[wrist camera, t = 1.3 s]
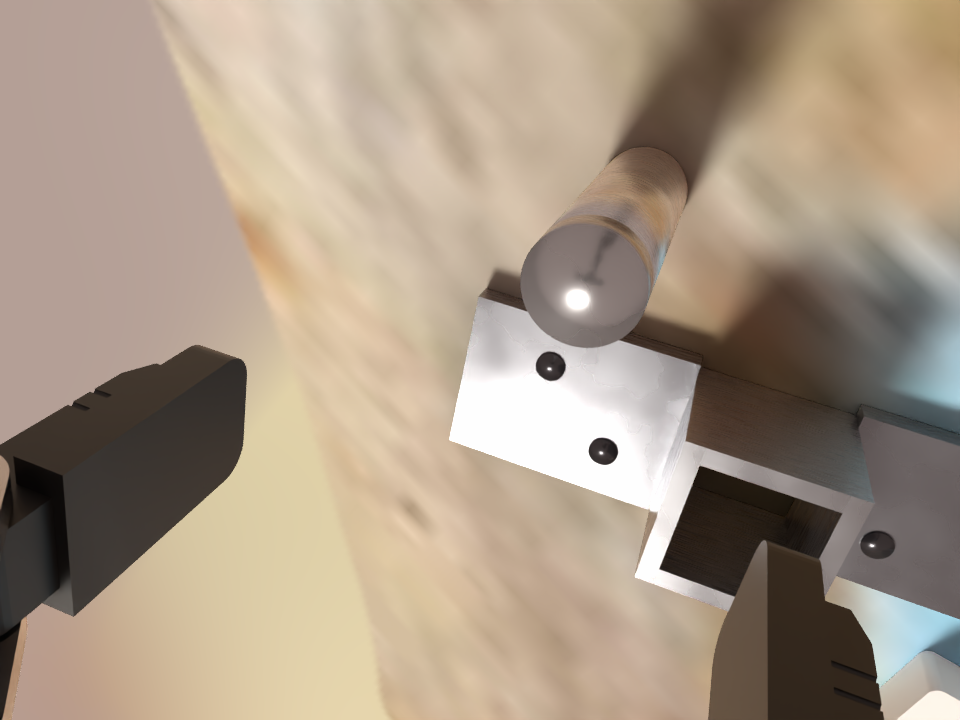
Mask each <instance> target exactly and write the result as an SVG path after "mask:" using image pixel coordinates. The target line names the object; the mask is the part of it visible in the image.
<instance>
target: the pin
mask: <svg viewBox="0 0 960 720" xmlns="http://www.w3.org/2000/svg"><path fill="white" fill-rule="evenodd" d="M687 194H688V185H687V180H686V176H685V174H684V171H683V169H682V168H681V166H680V165H679V163H678V162H677V161H676V160H675V159H674V158H673V157H672V156H670V155H669V154H667V153H666V152H664V151H662V150H659V149H656V148H652V147H636V148H632V149H629V150H626V151H624V152H622V153H621V154H619V155H618V156H616V157H615V158H614V159H613V160H612V161H611V162H610V163H609V164H608V165H607V166H606V167H605V168H604V170H603V171H602V172H601V173H600V174H599V175H598V176H597V177H596V178H595V179H594V180H593V182H592V183H591V184H590V185H589V186H588V187H587V188H586V189H585V190H584V191H583V193H582V194H581V195H580V196H579V197H578V198H577V199H576V200H575V201H574V202H573V203H572V205H571V206H570V207H569V208H568V209H567V210H566V211H565V212H564V213H563V214H562V215H561V217H560V218H559V219H558V220H557V221H556V222H555V223H554V224H553V225H552V226H551V228H550V229H549V230H548V231H547V232H546V233H545V234H544V235H543V236H542V237H541V238H540V240H539V241H538V242H537V243H536V244H535V245H534V246H533V248H532V249H531V250H530V252H529V253H528V255H527V257H526V259H525V261H524V264H523V268H522V272H521V281H520V286H521V294H522V298H523V302H524V305H525V307H526V309H527V311H528V313H529V315H530V317H531V318H532V319H533V321H534V322H535V323H536V324H537V326H538V327H539V328H540V329H541V330H543V331H544V332H545V333H546V334H547V335H549V336H550V337H552V338H553V339H555V340H557V341H559V342H562V343H564V344H567V345H570V346H574V347H581V348H595V347H601V346H605V345H609V344H611V343H614V342H616V341H618V340H620V339H622V338H623V337H624V336H626V335H627V334H628V333H629V332H630V331H631V330H632V329H634V327H635V326H636V325H637V324H638V322H639V321H640V319H641V317H642V315H643V313H644V311H645V308H646V306H647V303H648V300H649V298H650V295H651V293H652V290H653V287H654V285H655V282H656V280H657V277H658V274H659V272H660V269H661V266H662V264H663V261H664V259H665V256H666V253H667V251H668V248H669V246H670V243H671V240H672V238H673V235H674V232H675V230H676V227H677V225H678V222H679V219H680V217H681V214H682V211H683V209H684V206H685V204H686V200H687Z"/></svg>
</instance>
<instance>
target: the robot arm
mask: <svg viewBox="0 0 960 720" xmlns="http://www.w3.org/2000/svg"><path fill="white" fill-rule="evenodd" d="M246 381H247V370H246V366H245V363H244V362H243V361H242V360H241V359H239V358H236V357H233V356H230V355H227V354H224V353H221V352H218V351H215V350H212V349H209V348H206V347H203V346H200V345H194V346H191V347H189V348H188V349H186V350H184V351H183V352H181V353H179V354H178V355H176V356H175V357H173V358H172V359H170V360H168V361H167V362H165V363H163V364H162V365H159V364H153V365H149V366H146V367H142V368H139V369H135V370H131V371H128V372H124V373H121V374H119V375H118V376H116V377H114V378H113V379H111V380H109V381H108V382H106V383H104V384H102V385H101V386H99V387H97V388H96V389H95V391H94V393H91V392H89V393H87V394H85V395H84V396H82V397H80V398H79V399H77V400H75V401H74V402H73V405H72V406H69V405H67V406H65V407H63V408H62V409H60V410H58V411H57V412H55V413H53V414H52V415H50V416H48V417H46V418H45V419H43V420H41V421H40V422H38V423H36V424H35V425H33V426H31V427H30V428H28V429H26V430H25V431H23V432H21V433H19V434H18V435H16V436H14V437H13V438H11V439H9V440H8V441H6V442H4V443H3V444H1V445H0V720H12V715H13V710H14V704H15V698H16V692H17V687H18V682H19V676H20V671H21V665H22V659H23V654H24V648H25V643H26V637H27V628H28V625H27V615H28V614H29V613H31V612H32V611H33V610H34V609H35V608H37V607H38V606H39V605H40V604H41V603H43V604H46V605H48V606H50V607H53V608H55V609H57V610H59V611H62V612H64V613H67V614H69V615H71V616H73V617H74V616H75V615H76V614H77V613H78V612H79V611H80V610H82V609H83V608H84V607H85V606H86V605H87V604H88V603H89V602H91V601H92V600H93V599H94V598H95V597H96V596H97V595H98V594H99V593H101V592H102V591H103V590H104V589H105V588H106V587H107V586H108V585H109V584H111V583H112V582H113V581H114V580H115V579H116V578H117V577H118V576H119V575H120V574H122V573H123V572H124V571H125V570H126V569H127V568H128V567H129V566H130V565H132V564H133V563H134V562H135V561H136V560H137V559H138V558H139V557H140V556H142V555H143V554H144V553H145V552H146V551H147V550H148V549H149V548H151V547H152V546H153V545H154V544H155V543H156V542H157V541H158V540H159V539H160V538H162V537H163V536H164V535H165V534H166V533H167V532H168V531H169V530H170V529H172V527H174V526H175V525H176V524H177V523H178V522H179V521H180V520H182V519H183V518H184V517H185V516H186V515H187V514H188V513H189V512H190V511H192V510H193V509H194V508H195V507H196V506H197V505H198V504H199V503H200V502H202V501H203V500H204V499H205V498H206V497H207V496H208V495H209V494H210V493H212V492H213V491H214V490H215V489H216V488H217V487H218V486H219V485H220V484H222V483H223V482H224V481H225V480H226V479H227V478H228V477H229V475H230V474H231V473H232V471H233V469H234V468H235V466H236V464H237V462H238V459H239V457H240V454H241V451H242V447H243V438H244V437H243V436H244V418H245V400H246V399H245V398H246ZM876 679H877V672H876V666H875V660H874V654H873V648H872V643H871V642H870V640H869V639H868V637H867V635H866V634H865V632H864V630H863V629H862V627H861V626H860V624H859V622H858V621H857V619H856V618H855V616H854V614H853V613H852V611H851V610H850V609H847V608H844V607H841V606H838V605H835V604H832V603H830V602H827V601H825V594H824V584H823V574H822V565H821V562H820V560H819V559H818V558H815V557H812V556H809V555H806V554H803V553H800V552H797V551H794V550H791V549H788V548H785V547H783V546H780V545H777V544H774V543H771V542H768V541H765V540H764V541H762V542H761V543H760V545H759V546H758V548H757V549H756V552H755V554H754V556H753V558H752V560H751V562H750V565H749V567H748V569H747V571H746V574H745V576H744V578H743V580H742V582H741V585H740V587H739V589H738V591H737V593H736V596H735V598H734V600H733V602H732V605H731V607H730V609H729V611H728V613H727V616H726V618H725V620H724V623H723V625H722V628H721V631H720V634H719V637H718V641H717V645H716V649H715V654H714V659H713V667H712V679H711V691H710V704H709V717H708V720H884V715H883V712H882V711H880V709H881V705H882V703H881V697H880V691H879V684H878V683H876Z"/></svg>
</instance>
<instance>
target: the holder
mask: <svg viewBox="0 0 960 720" xmlns="http://www.w3.org/2000/svg"><path fill="white" fill-rule="evenodd" d="M879 691H880V697H881V703H882V705H881V709H880V711H882V712H883V715H884V720H960V667H959V666H957V665H956V664H954V663H952V662H950V661H949V660H947V659H945V658H943V657H942V656H940V655H938V654H936V653H935V652H932V651H923V652H920V653H919V654H918V655H916V656H915V657H914V658H913V659H912V660H911V661H910V662H909V663H907V664H906V665H905V666H904V667H903V668H902V669H901V670H900V671H898V672H897V673H896V674H895V675H894V676H893V677H892V678H891V679H889V680H888V681H887V682H886V683H885V684H884V685H883V686H881V687H880V688H879Z"/></svg>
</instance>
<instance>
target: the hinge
mask: <svg viewBox="0 0 960 720" xmlns="http://www.w3.org/2000/svg"><path fill="white" fill-rule="evenodd" d="M702 358H703V355H700V354H697V353H694V352H691V351H687V350H684V349H681V348H678V347H675V346H671V345H668V344H665V343H662V342H658V341H655V340H652V339H649V338H645V337H642V336H639V335H636V334H632V333H628V334H627V335H626V336H624V337H623V338H622V339H620V340H618V341H616V342H614V343H611V344H609V345H605V346H601V347H595V348H581V347H574V346H570V345H567V344H564V343H562V342H559V341H557V340H555V339H553V338H552V337H550V336H549V335H547V334H546V333H545V332H544V331H543V330H541V329H540V328H539V327H538V326H537V324H536V323H535V322H534V321H533V319H532V318H531V317H530V315H529V313H528V311H527V309H526V307H525V305H524V302H523V300H522V299H519V298H516V297H513V296H509V295H506V294H503V293H500V292H496V291H493V290H490V289H487V288H486V289H485V290H484V292H483V293H482V294H481V295H480V296H479V298H478V303H477V308H476V313H475V317H474V322H473V327H472V332H471V337H470V342H469V347H468V351H467V356H466V361H465V366H464V371H463V376H462V381H461V386H460V390H459V395H458V400H457V405H456V410H455V415H454V420H453V424H452V429H451V434H450V439H449V440H451V441H454V442H457V443H460V444H462V445H465V446H468V447H471V448H474V449H477V450H480V451H482V452H485V453H488V454H491V455H494V456H497V457H499V458H502V459H505V460H508V461H511V462H514V463H517V464H519V465H522V466H525V467H528V468H531V469H534V470H536V471H539V472H542V473H545V474H548V475H551V476H554V477H556V478H559V479H562V480H565V481H568V482H571V483H573V484H576V485H579V486H582V487H585V488H588V489H591V490H593V491H596V492H599V493H602V494H605V495H608V496H610V497H613V498H616V499H619V500H622V501H625V502H628V503H630V504H633V505H636V506H639V507H642V508H645V509H647V510H648V509H649V506H650V504H651V506H650V510H649V515H648V519H647V523H646V528H645V532H644V537H643V541H642V546H641V550H640V554H639V559H638V563H637V568H636V572H635V577H637V578H639V579H642V580H645V581H647V582H650V583H653V584H656V585H658V586H661V587H664V588H666V589H669V590H672V591H674V592H677V593H680V594H683V595H685V596H688V597H691V598H693V599H696V600H699V601H702V602H704V603H707V604H710V605H712V606H715V607H718V608H721V609H723V610H726V611H729V609H730V607H731V605H732V602H733V600H734V598H735V596H736V593H737V591H738V589H739V587H740V585H741V582H742V580H743V578H744V576H745V574H746V571H747V569H748V567H749V565H750V562H751V560H752V558H753V556H754V554H755V552H756V549H757V548H758V546H759V545H760V543H761V542H762V541H764V540H765V541H768V542H771V543H774V544H777V545H780V546H783V547H785V548H788V549H791V550H794V551H797V552H800V553H803V554H806V555H809V556H812V557H815V558H818V559H819V560H820V562H821V565H822V574H823V584H824V594H825V595H826V593H827V592H828V590H829V588H830V586H831V584H832V582H833V580H834V578H835V577H836V576H838V577H841V578H844V579H847V580H849V581H852V582H855V583H858V584H861V585H864V586H867V587H869V588H872V589H875V590H878V591H881V592H884V593H886V594H889V595H892V596H895V597H898V598H901V599H904V600H906V601H909V602H912V603H915V604H918V605H921V606H923V607H926V608H929V609H932V610H935V611H938V612H941V613H943V614H946V615H949V616H952V617H955V618H958V619H960V434H956V433H953V432H950V431H947V430H943V429H940V428H937V427H934V426H931V425H927V424H924V423H921V422H918V421H914V420H911V419H908V418H905V417H901V416H898V415H895V414H892V413H888V412H885V411H882V410H879V409H875V408H872V407H869V406H866V405H862V404H861V406H860V408H859V410H858V412H857V414H856V415H853V414H850V413H847V412H844V411H841V410H837V409H834V408H831V407H828V406H824V405H821V404H818V403H815V402H812V401H808V400H805V399H802V398H799V397H796V396H792V395H789V394H786V393H783V392H780V391H776V390H773V389H770V388H767V387H764V386H760V385H757V384H754V383H751V382H747V381H744V380H741V379H738V378H735V377H731V376H728V375H725V374H722V373H719V372H715V371H712V370H709V369H706V368H703V367H701V363H702ZM699 466H703V467H706V468H709V469H712V470H715V471H718V472H721V473H724V474H727V475H730V476H733V477H736V478H739V479H742V480H745V481H748V482H751V483H754V484H757V485H760V486H763V487H766V488H769V489H772V490H774V491H777V492H780V493H783V494H786V495H789V496H792V497H795V499H794V501H793V503H792V505H791V508H790V510H789V512H788V514H787V516H786V517H783V516H780V515H777V514H774V513H771V512H768V511H765V510H762V509H759V508H756V507H753V506H750V505H747V504H745V503H742V502H739V501H736V500H733V499H730V498H727V497H724V496H721V495H718V494H715V493H712V492H709V491H706V490H704V489H701V488H698V487H695V486H692V484H693V481H694V479H695V476H696V474H697V471H698V469H699Z"/></svg>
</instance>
